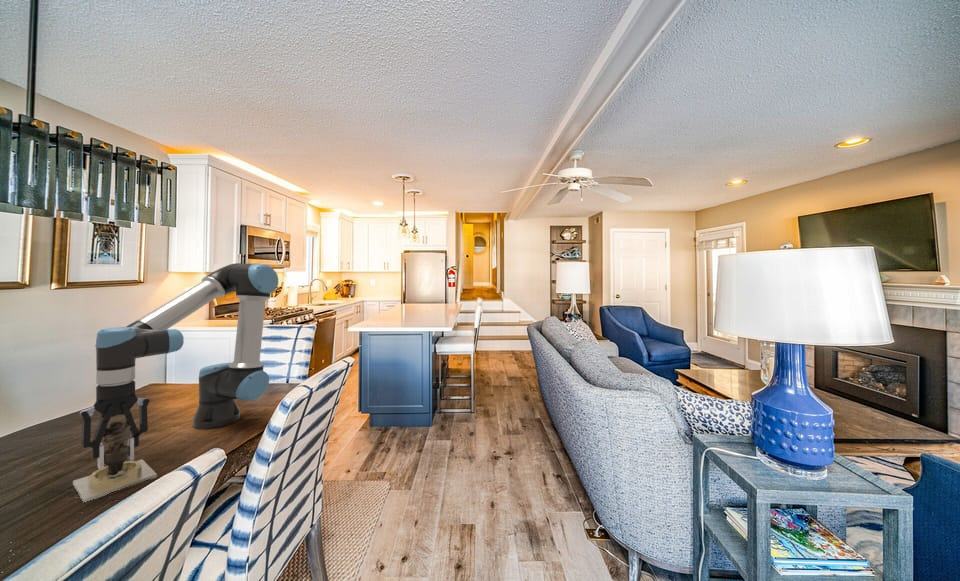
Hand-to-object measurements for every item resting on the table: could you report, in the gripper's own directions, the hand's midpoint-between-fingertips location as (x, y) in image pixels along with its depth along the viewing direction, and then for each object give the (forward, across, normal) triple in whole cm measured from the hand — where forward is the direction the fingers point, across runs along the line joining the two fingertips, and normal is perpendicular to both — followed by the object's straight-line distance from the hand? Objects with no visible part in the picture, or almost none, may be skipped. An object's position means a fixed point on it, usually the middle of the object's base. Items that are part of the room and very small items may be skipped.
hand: (116, 463), depth 96 cm
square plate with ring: (+5, 0, 0) cm, 5 cm away
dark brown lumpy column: (+3, 0, 0) cm, 3 cm away
